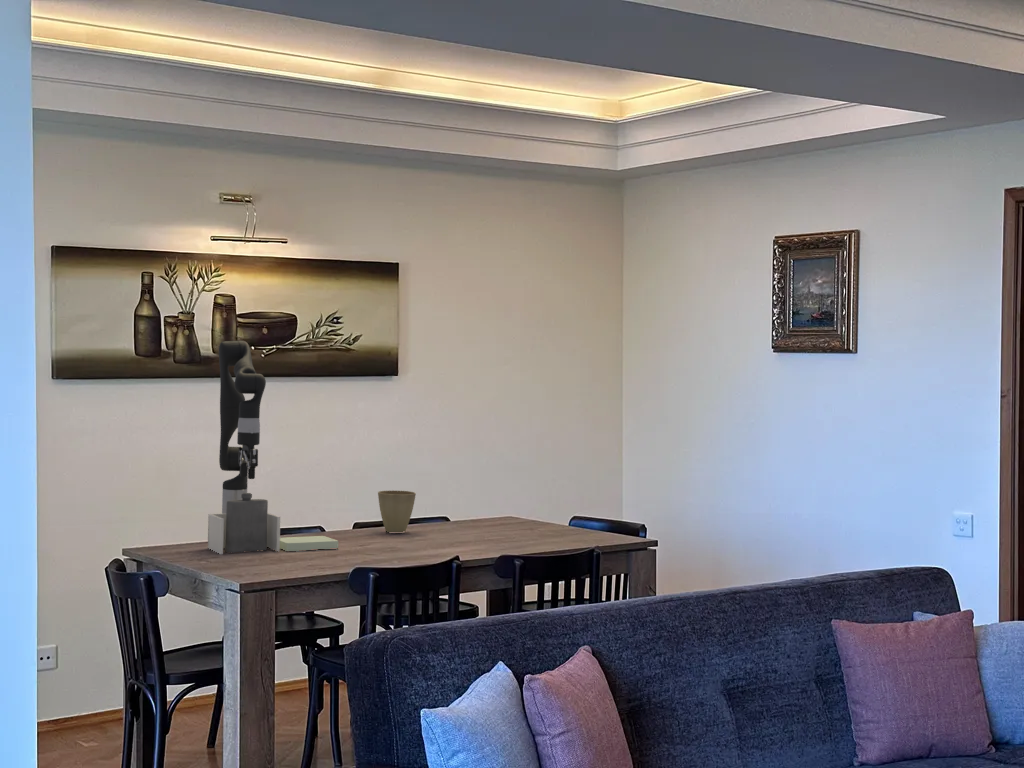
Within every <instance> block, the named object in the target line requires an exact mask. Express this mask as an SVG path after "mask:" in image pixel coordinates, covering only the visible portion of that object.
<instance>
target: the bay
mask: <svg viewBox="0 0 1024 768" xmlns="http://www.w3.org/2000/svg"><path fill="white" fill-rule="evenodd" d="M207 522H208V524H207V525H208V526H207V549H208V548H209V549H208V550H210V549H211V551H212V550H213V551H212V552H214V551H215V552H214V553H216V552H217V554H218V553H219V554H218V555H224V549H225V545H226V514H222V513H209V514H208V519H207ZM280 538H281V516H278V515H277V514H276V515H275V514H272V513H270V512H267V547H269V548H271V549H270V550H272V549H274V550H276V551H275V552H277V551H278V552H280V550H281V549H280ZM267 547H266V548H267ZM269 548H268V549H269ZM274 550H273V551H274Z"/></svg>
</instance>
